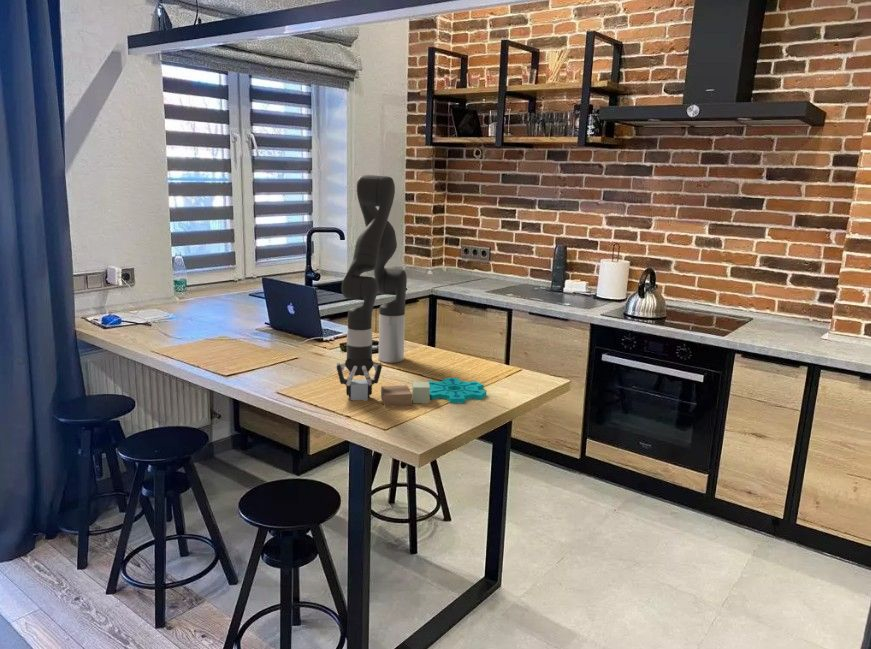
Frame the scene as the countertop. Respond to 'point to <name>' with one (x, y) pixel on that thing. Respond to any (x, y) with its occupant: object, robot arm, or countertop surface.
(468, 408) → the countertop surface
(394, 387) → the walnut base
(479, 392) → the decorative ornament
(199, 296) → the countertop surface
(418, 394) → the sage block
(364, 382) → the slate cube
